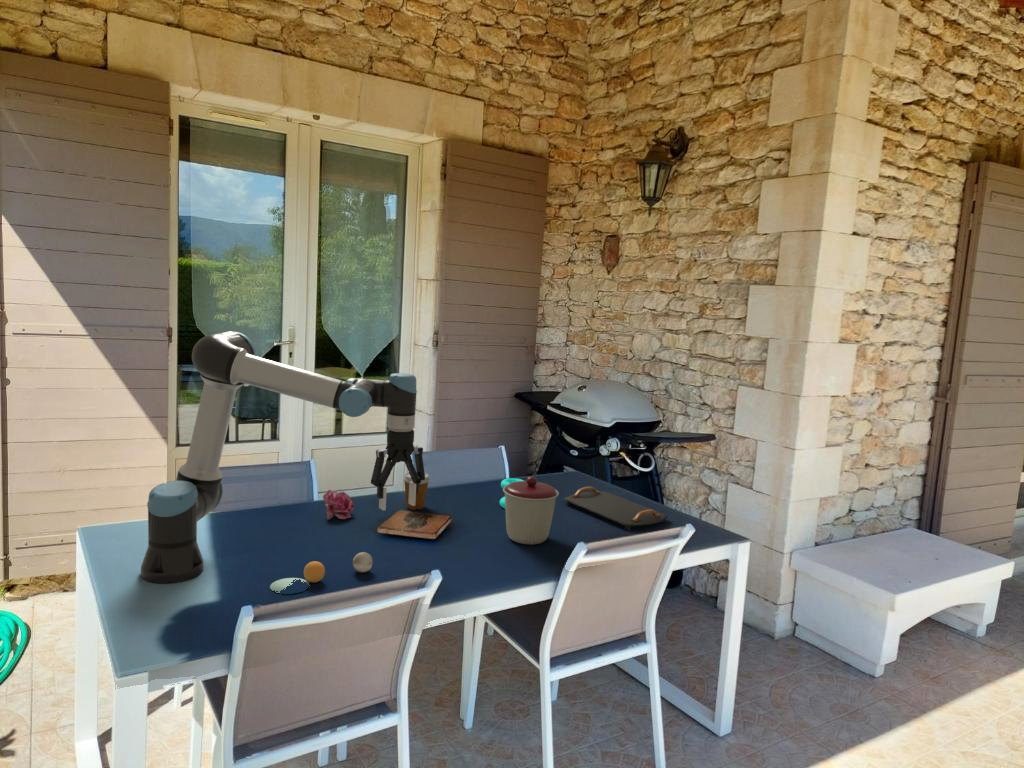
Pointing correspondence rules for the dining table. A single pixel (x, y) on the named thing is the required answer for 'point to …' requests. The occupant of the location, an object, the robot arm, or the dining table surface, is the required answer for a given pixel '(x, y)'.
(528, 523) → the canister
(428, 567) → the dining table surface
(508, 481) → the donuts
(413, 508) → the disposable coffee cup
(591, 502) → the serving board
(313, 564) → the orange ball
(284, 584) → the pale green flat disc
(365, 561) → the ivory ball
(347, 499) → the flower
